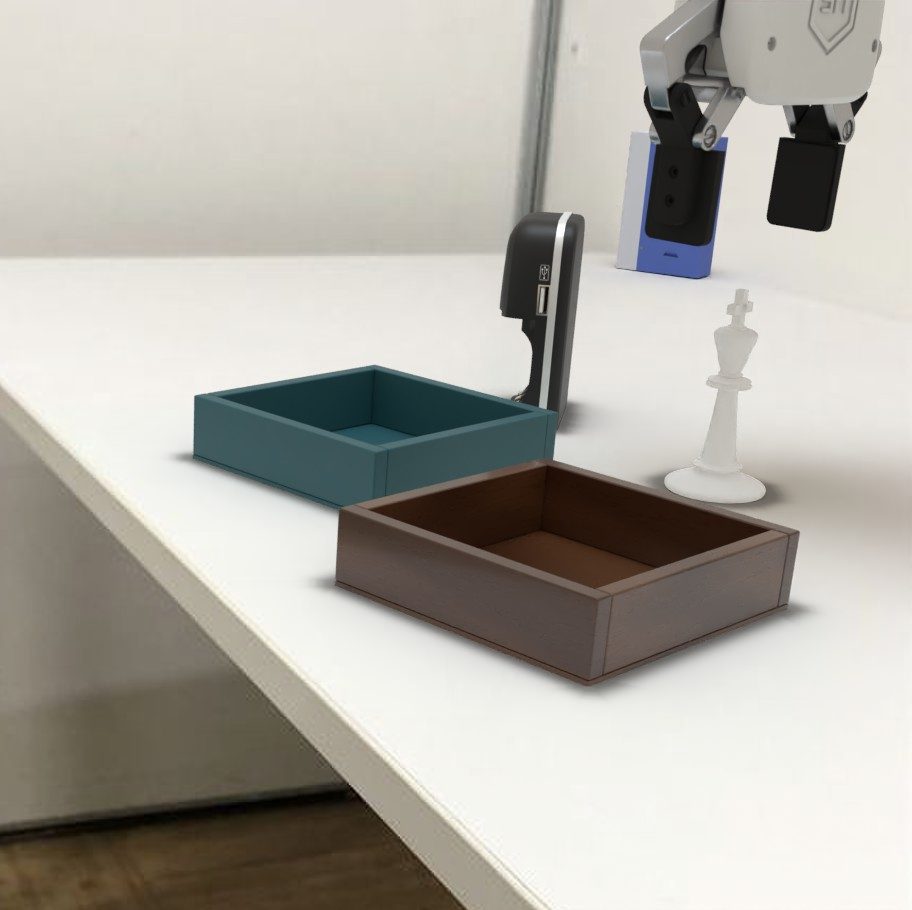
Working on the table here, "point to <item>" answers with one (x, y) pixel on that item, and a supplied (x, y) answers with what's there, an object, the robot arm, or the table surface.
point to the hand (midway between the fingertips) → (739, 234)
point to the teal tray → (365, 433)
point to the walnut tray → (566, 565)
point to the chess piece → (723, 421)
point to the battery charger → (545, 300)
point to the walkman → (633, 240)
